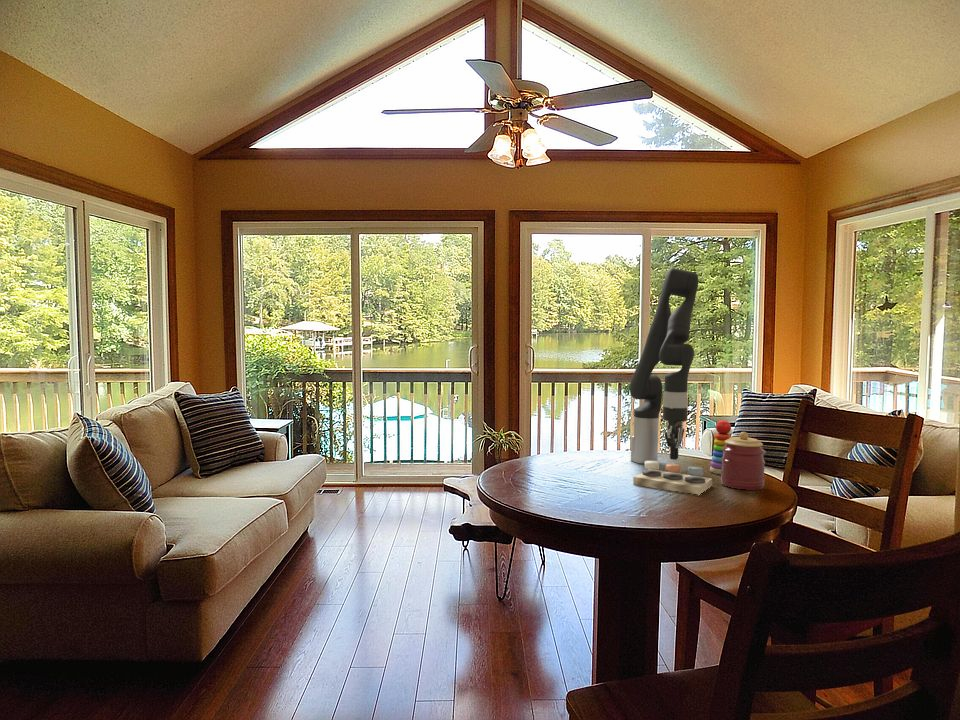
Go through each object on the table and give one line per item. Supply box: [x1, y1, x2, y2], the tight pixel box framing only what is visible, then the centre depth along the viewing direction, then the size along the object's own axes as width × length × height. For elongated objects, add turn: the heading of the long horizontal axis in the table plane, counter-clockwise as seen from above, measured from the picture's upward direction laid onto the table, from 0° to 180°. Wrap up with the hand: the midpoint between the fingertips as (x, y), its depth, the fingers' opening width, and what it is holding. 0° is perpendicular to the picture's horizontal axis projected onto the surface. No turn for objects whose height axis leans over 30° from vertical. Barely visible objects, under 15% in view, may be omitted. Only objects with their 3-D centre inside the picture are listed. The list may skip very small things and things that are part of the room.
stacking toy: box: [709, 419, 732, 475], centre depth 208 cm, size 8×8×19 cm
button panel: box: [632, 469, 713, 496], centre depth 190 cm, size 21×14×3 cm, turn 54°
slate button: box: [686, 466, 704, 477], centre depth 185 cm, size 5×5×2 cm
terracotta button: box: [665, 463, 682, 474], centre depth 189 cm, size 5×5×2 cm
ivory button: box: [644, 461, 660, 471], centre depth 194 cm, size 5×5×2 cm
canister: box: [720, 431, 766, 491], centre depth 190 cm, size 13×13×18 cm
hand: (674, 459), depth 189 cm, fingers closed
